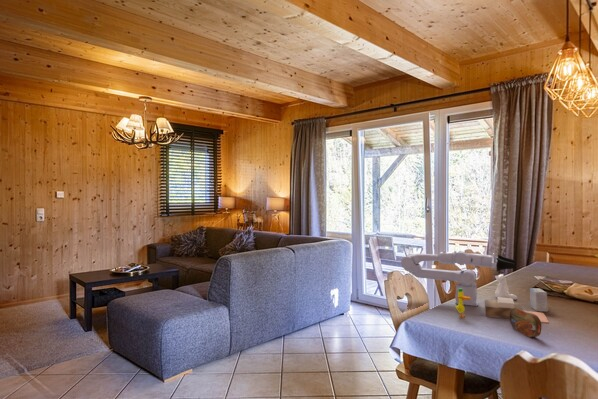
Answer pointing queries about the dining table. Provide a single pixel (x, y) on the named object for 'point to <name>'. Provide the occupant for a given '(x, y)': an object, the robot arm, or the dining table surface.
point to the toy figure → (461, 302)
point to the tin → (525, 322)
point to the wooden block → (498, 309)
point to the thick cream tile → (505, 302)
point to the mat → (540, 316)
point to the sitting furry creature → (503, 288)
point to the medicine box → (538, 299)
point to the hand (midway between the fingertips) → (515, 264)
